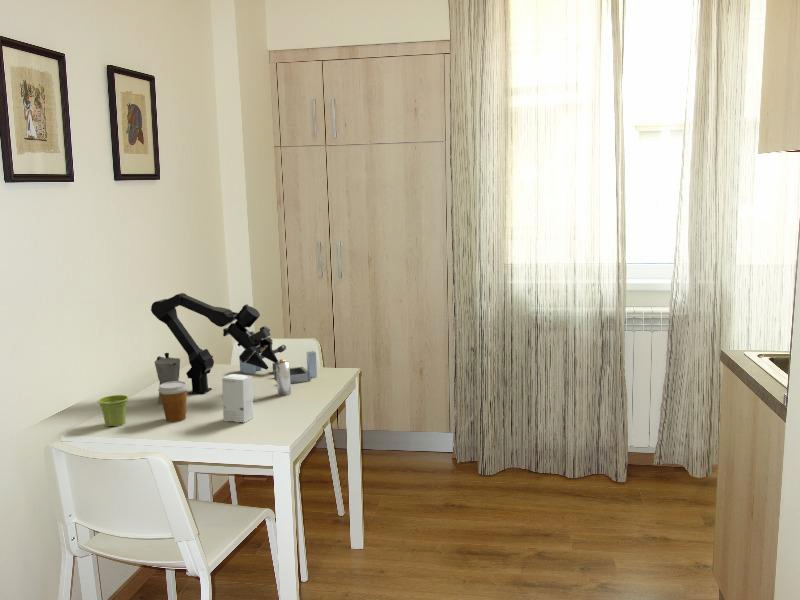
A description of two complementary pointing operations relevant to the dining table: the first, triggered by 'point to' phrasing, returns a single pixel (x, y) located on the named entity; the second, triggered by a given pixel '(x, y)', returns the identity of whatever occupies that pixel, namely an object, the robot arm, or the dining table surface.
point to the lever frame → (252, 367)
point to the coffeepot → (167, 370)
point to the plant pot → (114, 409)
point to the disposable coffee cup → (174, 400)
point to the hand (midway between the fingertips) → (272, 365)
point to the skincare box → (237, 398)
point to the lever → (278, 350)
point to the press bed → (303, 370)
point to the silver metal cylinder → (283, 377)
